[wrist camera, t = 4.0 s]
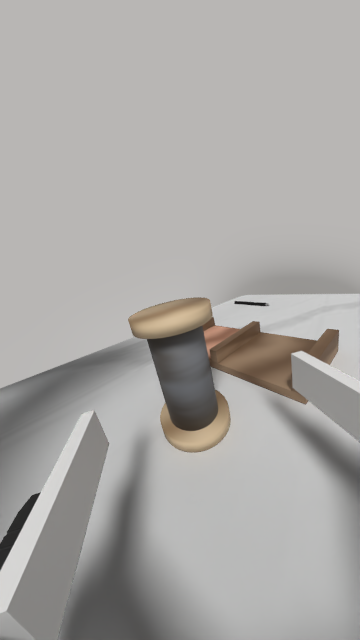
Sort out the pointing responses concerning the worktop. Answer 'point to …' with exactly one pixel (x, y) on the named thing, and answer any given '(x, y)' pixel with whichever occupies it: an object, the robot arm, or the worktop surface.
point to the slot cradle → (264, 354)
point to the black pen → (251, 303)
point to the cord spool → (184, 372)
